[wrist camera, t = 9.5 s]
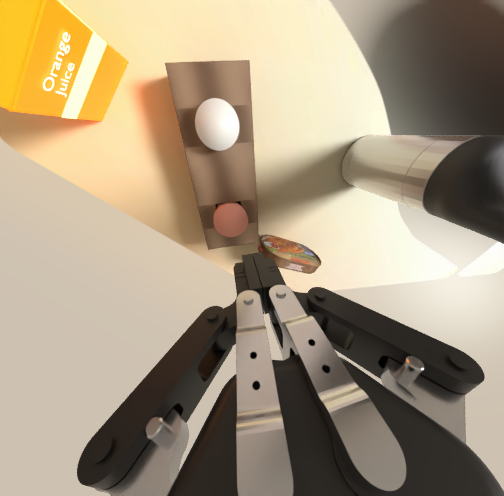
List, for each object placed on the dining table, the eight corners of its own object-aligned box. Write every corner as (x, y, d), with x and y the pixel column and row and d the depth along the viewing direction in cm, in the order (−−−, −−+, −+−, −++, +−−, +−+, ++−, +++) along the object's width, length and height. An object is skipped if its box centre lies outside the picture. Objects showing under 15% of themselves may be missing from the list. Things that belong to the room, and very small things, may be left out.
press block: (243, 71, 27) (249, 60, 22) (254, 230, 41) (258, 241, 36) (172, 74, 25) (164, 62, 21) (208, 237, 39) (208, 249, 35)
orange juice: (129, 62, 24) (-55, -97, 7) (102, 122, 27) (-80, 104, 10) (56, -5, 21) (-619, -605, 4) (33, 72, 23) (-428, -85, 6)
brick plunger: (241, 191, 34) (246, 203, 28) (244, 219, 37) (249, 234, 31) (210, 195, 33) (210, 207, 28) (216, 223, 36) (216, 239, 31)
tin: (311, 247, 46) (329, 267, 39) (305, 257, 47) (321, 278, 40) (258, 230, 41) (267, 250, 34) (252, 242, 42) (261, 264, 35)
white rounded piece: (232, 104, 28) (236, 96, 22) (236, 146, 31) (241, 148, 25) (194, 106, 27) (190, 99, 22) (202, 149, 30) (200, 152, 25)
